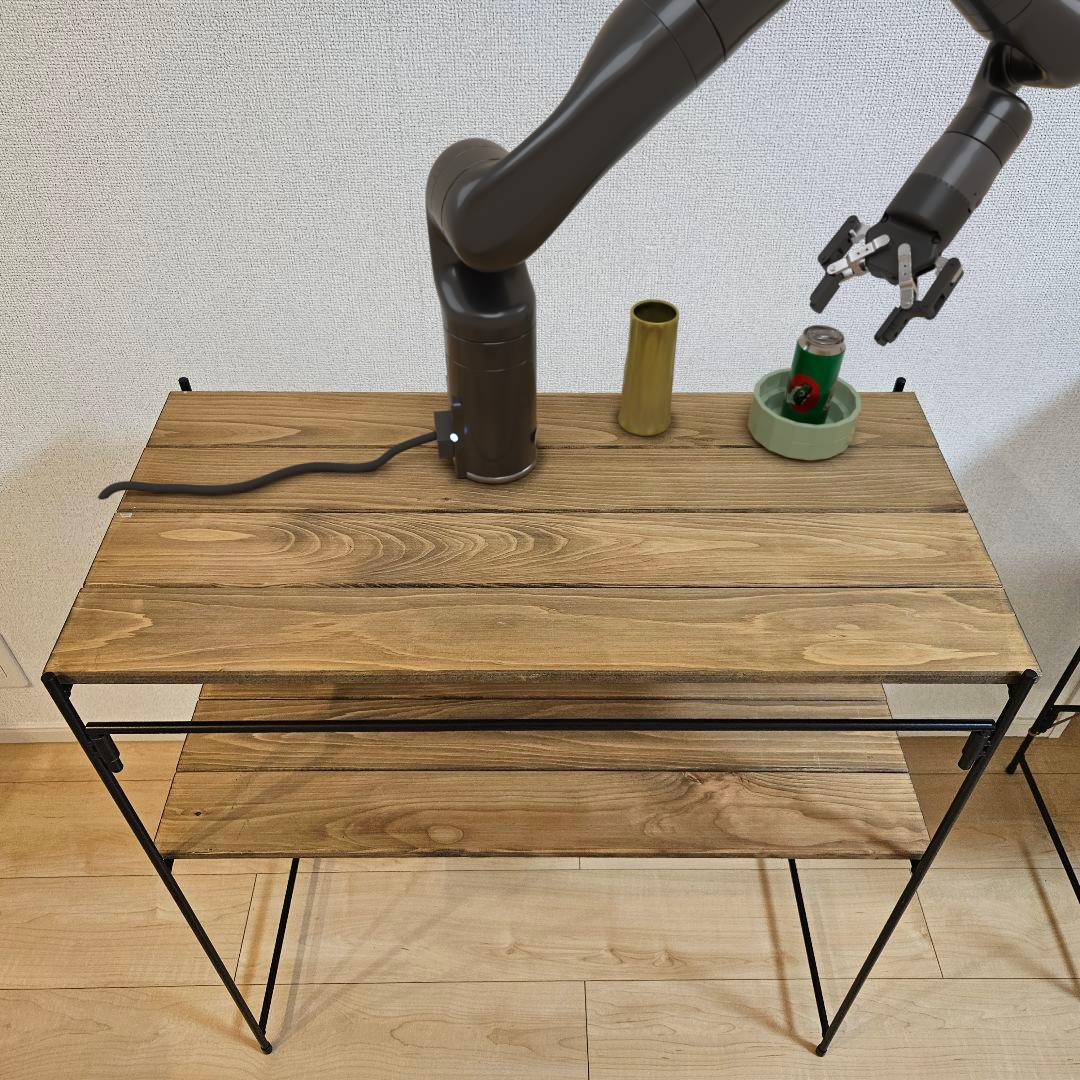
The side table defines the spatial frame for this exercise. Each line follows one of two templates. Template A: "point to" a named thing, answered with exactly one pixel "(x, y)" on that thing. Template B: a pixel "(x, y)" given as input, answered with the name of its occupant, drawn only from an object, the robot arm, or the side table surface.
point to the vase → (649, 368)
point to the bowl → (802, 436)
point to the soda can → (813, 375)
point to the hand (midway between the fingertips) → (845, 325)
